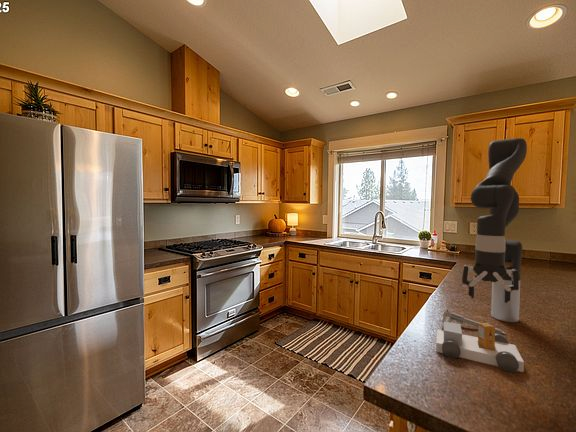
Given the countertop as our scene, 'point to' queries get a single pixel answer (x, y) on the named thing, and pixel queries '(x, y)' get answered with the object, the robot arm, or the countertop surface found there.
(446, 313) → the caliper
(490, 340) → the supplement box
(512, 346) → the chassis
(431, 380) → the countertop surface
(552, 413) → the countertop surface
